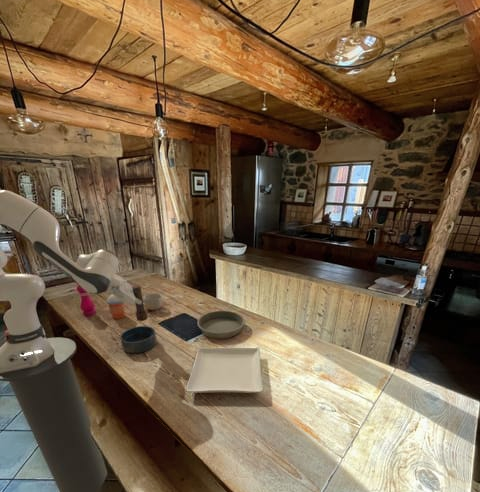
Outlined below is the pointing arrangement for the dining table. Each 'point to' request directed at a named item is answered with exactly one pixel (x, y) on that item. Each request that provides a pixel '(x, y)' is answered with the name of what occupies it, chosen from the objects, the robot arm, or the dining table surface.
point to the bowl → (138, 339)
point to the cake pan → (220, 324)
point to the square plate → (226, 371)
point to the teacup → (152, 301)
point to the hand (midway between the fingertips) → (140, 301)
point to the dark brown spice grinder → (140, 309)
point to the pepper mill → (86, 302)
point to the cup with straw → (116, 306)
